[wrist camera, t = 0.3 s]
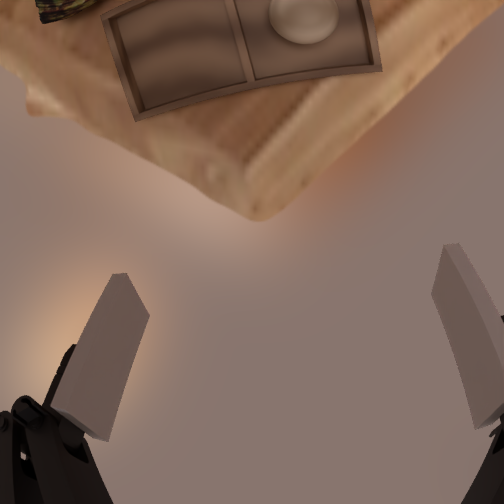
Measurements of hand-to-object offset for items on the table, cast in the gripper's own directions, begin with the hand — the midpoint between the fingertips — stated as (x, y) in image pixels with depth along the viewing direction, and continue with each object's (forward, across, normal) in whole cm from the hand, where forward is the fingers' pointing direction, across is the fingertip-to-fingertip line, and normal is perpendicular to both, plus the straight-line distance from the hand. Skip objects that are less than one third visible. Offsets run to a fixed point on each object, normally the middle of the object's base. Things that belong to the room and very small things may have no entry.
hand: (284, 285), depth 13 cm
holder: (+27, -3, +11) cm, 29 cm away
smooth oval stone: (+26, +4, +12) cm, 29 cm away
